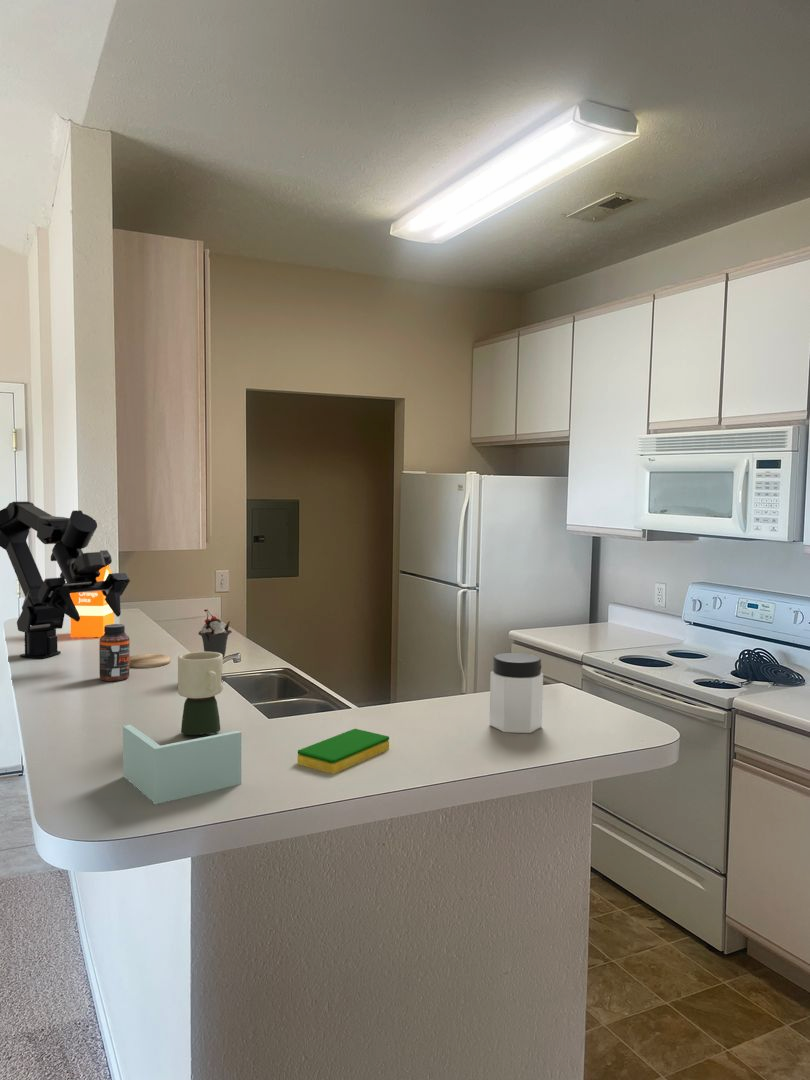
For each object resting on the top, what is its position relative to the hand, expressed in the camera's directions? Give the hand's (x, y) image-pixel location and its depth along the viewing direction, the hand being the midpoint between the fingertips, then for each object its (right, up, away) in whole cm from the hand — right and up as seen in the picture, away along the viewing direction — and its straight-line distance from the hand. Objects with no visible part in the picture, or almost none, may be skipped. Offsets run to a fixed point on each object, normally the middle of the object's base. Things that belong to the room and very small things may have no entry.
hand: (99, 617), depth 170 cm
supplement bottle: (+4, -13, -3) cm, 14 cm away
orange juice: (-19, -9, +45) cm, 49 cm away
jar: (+84, -16, -33) cm, 92 cm away
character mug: (+32, -15, -39) cm, 53 cm away
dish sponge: (+56, -17, -49) cm, 76 cm away
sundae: (+25, -13, -2) cm, 28 cm away
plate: (+6, -12, +12) cm, 18 cm away
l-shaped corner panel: (+34, -17, -60) cm, 71 cm away
